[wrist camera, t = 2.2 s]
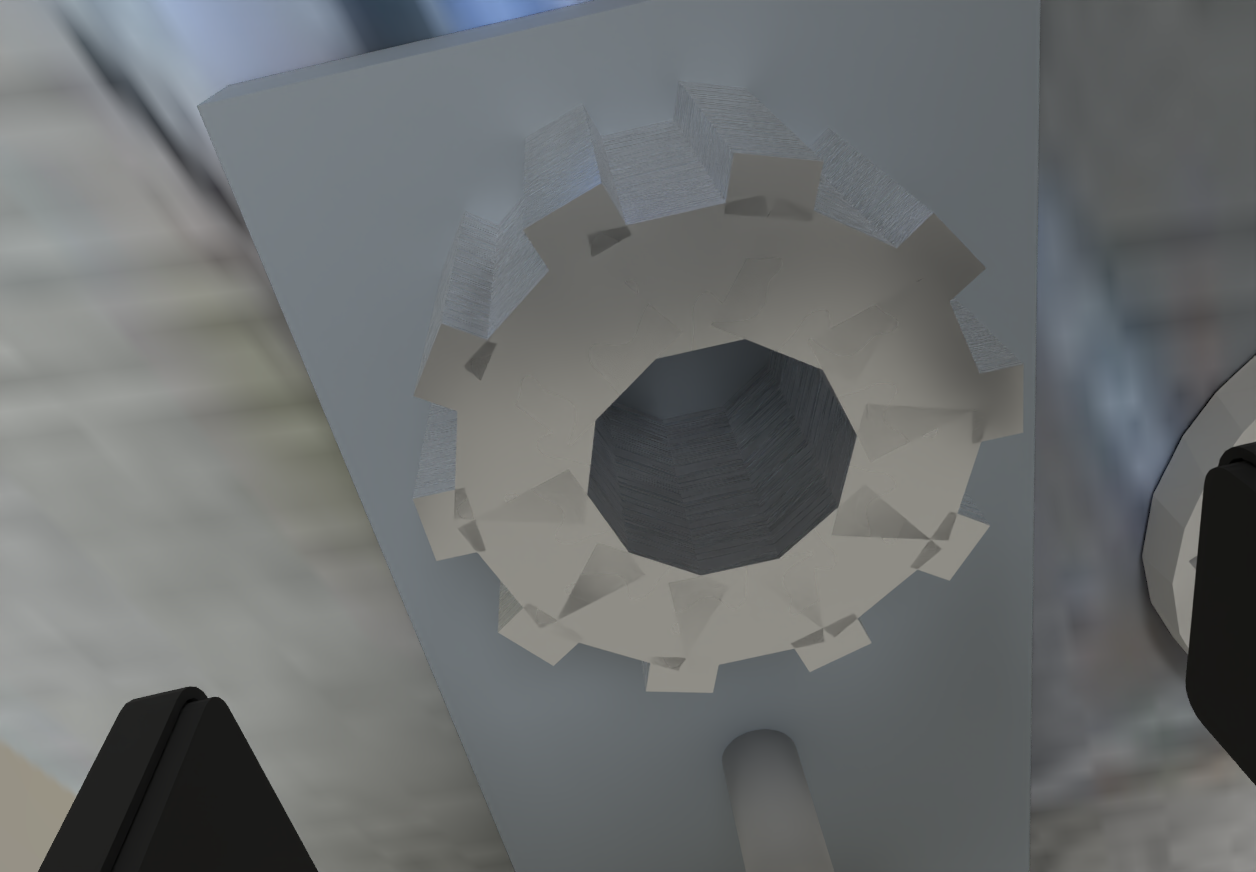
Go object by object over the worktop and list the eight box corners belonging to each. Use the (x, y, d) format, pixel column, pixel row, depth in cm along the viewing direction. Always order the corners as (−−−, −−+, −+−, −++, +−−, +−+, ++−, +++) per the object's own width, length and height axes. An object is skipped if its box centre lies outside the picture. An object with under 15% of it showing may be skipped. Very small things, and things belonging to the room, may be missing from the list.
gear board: (228, 85, 14) (108, 164, 10) (991, -93, 13) (1180, -84, 10) (602, 1030, 26) (614, 1230, 22) (1002, 948, 26) (1086, 1137, 22)
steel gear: (373, 150, 13) (316, 247, 9) (890, 32, 13) (1025, 86, 9) (509, 557, 16) (503, 737, 13) (916, 468, 16) (1022, 626, 13)
